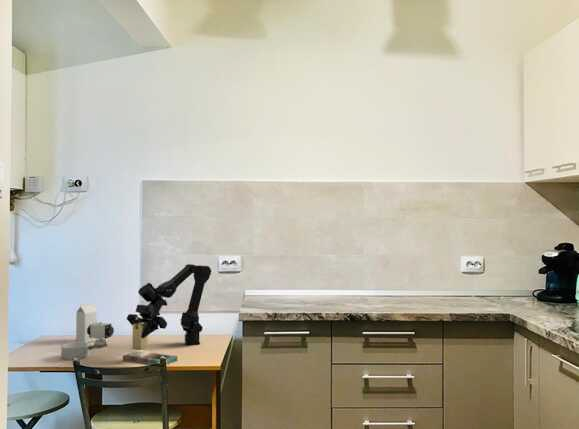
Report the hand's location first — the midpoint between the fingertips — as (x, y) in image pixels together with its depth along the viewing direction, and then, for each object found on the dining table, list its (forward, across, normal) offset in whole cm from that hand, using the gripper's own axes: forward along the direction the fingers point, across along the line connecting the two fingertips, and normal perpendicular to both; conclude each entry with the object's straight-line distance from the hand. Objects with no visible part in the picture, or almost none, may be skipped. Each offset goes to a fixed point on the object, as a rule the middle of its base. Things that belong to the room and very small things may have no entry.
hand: (137, 337), depth 212 cm
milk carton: (-6, -47, +20) cm, 52 cm away
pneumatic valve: (-2, -32, +16) cm, 36 cm away
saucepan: (+11, -25, +4) cm, 28 cm away
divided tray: (+6, +6, +8) cm, 11 cm away
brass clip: (+3, 0, +5) cm, 5 cm away
